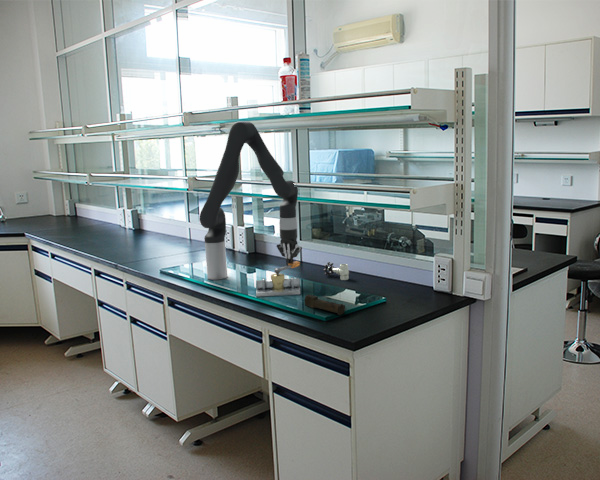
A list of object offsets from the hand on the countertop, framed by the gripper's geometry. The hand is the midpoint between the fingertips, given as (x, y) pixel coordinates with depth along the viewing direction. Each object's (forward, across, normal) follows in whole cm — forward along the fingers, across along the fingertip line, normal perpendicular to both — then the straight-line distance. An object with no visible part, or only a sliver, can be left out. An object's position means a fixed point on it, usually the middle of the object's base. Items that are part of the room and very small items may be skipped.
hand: (289, 266), depth 239 cm
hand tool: (+8, -34, +23) cm, 42 cm away
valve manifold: (+8, -4, +12) cm, 15 cm away
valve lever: (-1, -3, +6) cm, 7 cm away
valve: (+8, -13, -18) cm, 24 cm away
